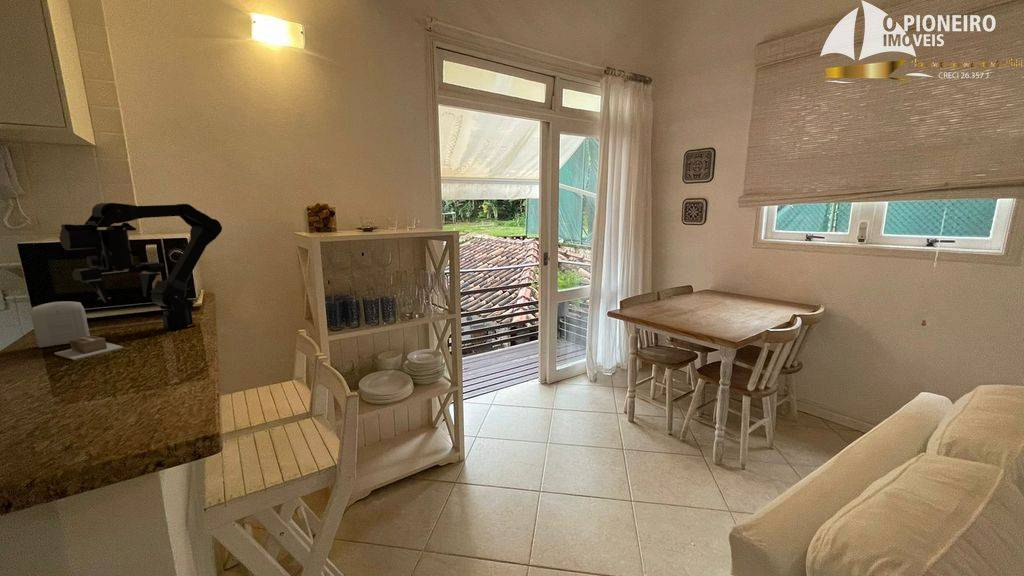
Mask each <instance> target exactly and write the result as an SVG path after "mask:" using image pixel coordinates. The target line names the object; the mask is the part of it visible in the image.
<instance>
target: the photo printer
mask: <svg viewBox="0 0 1024 576" xmlns="http://www.w3.org/2000/svg"><path fill="white" fill-rule="evenodd" d="M86 314H87V313H86V310H85V308H84V306H83V305H82V302H79V301H67V300H66V301H64V300H63V301H52V302H48V303H42V304H39V305H36V306H33V307H31V312H30V317H31V322H32V326H33V329H34V335H35V339H36V343H37V347H38V348H39V349H40V348H48V347H54V346H55V345H56V346H62V344H63V345H68V344H70V340H72V339H77V338H81V337H86V336H91V335H90V330H89V325H88V320H87V315H86Z"/></svg>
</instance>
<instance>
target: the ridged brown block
mask: <svg viewBox="0 0 1024 576" xmlns="http://www.w3.org/2000/svg"><path fill="white" fill-rule="evenodd" d="M106 342H107V341H106V338H105V337H100V336H96V335H90V336H86V337H81V338H77V339H72V340H70V343H69V344H70V349H72V351H76V352H79V353H83V354H87V353H92V352H96V351H100V350H104V349H107V345H106Z"/></svg>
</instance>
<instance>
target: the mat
mask: <svg viewBox="0 0 1024 576" xmlns="http://www.w3.org/2000/svg"><path fill="white" fill-rule="evenodd" d="M106 345H107V349H104V350H100V351H96V352H92V353H87V354H83V353H79V352H76V351H72V348H70V349H69V348H68V349H65V350H61V351H56V352H54V353H53V354H54V355H56V356H59V357H63V358H65V359H69V360H72V361H76V360H81V359H84V358H88V357H89V358H90V357H92V356H97V355H102V354H106V353H109V352H113V351H117V350H122V349H124V346H122V345H118V344H115V343H110V342H107V341H106Z"/></svg>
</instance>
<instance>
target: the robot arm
mask: <svg viewBox="0 0 1024 576" xmlns="http://www.w3.org/2000/svg"><path fill="white" fill-rule="evenodd" d="M167 217H179V218H180V219H182V220H183V221H184V223H185V224H186V225H188V226H190V231H189V236H190V237H189V238H190V239H189V242H188V243H187V245H186V246H185V248H184V250H183V252H182V253H181V255H180V257H179V259H178V260H177V262H176V264H175V266H174V268H173V269H172V271H171V272H170V274H169V276H168V277H167V278H166V279H165V280H156V278H157V276H160V275H161V273H163V272H165V271H166V270H165V266H164V264H163V263H161V262H157V261H156V262H155V261H150V262H148V261H147V262H140V263H138V265H137V264H136V263H134V259H133V256H132V255H133V254H134V250H133V249H131V244H130V238H129V233H128V232H130V231H132V232H133V231H135V232H136V231H137V228H136V227H134V226H133V225H131V224H130V223H128V222H131V221H135V220H140V219H146V218H148V219H149V218H151V219H152V218H167ZM115 224H116V225H115ZM119 224H120V225H119ZM60 228H61V229H60V233H59V235H60V236H59V237H58V238H59V242H60V244H61V246H62V248H63V249H64V250H66V251H70V250H71V251H72V250H73V251H75V250H90V249H97V248H98V246H101V247H102V250H101V251H100V252H101V253H100V254H101V256H99V257H98V256H97V255H88V256H86V263H87V266H88V268H87V267H86V268H76V269H74V270H73V271H72V279H73V280H75V281H80V282H81V283H86V284H88V285H90V286H91V288H93V290H94V291H95V292H96V293H97V295H98V296H99V297H100V298H101V300H102V301H103V303H105V304H108V303H109V298H108V297H109V296H108V293H107V287H106V283H105V280H104V279H101V278H102V277H104V276H105V277H106V276H113V275H114V276H115V275H123V274H131V273H138V275H139V277H140V280H141V286H142V287H141V288H142V295H143V296H144V297H148V296H149V293H151V295H150V298H151V301H152V302H153V303H154V304H155V305H157V306H159V308H160V309H161V310H162V312H163V315H162V316H161V317H162V321H163V322H162V323H163V327H162V329H165V330H168V329H169V330H168V331H173V330H175V331H178V329H179V330H181V329H180V328H184V327H187V326H188V325H190V324H194V321H193V315H192V310H193V306H194V305H195V304H194V302H193V301H192V300H190V299H188V298H186V297H185V296H186V293H187V282H188V280H189V278H190V277H191V274H192V272H193V271H194V269H195V267H196V266H197V264H198V262H199V260H200V258H201V257H202V254H203V253H204V251H205V250H206V248H207V246H208V245H209V244H211V242H213V241H214V240H216V239H217V238H218V237H219V235H220V234H221V233H222V230H223V226H222V224H221V222H220V221H219V220H217V219H216V218H211V216H209V215H207V214H206V213H205V212H204V213H203V212H201V211H200V210H198V209H196V208H195V207H193V206H192V205H191V204H189V203H178V204H161V205H160V204H159V205H158V204H157V205H156V204H155V205H134V204H126V203H117V202H99V203H97V204H95V205H94V206H93V207H92V209H91V215H90V216H89V218H88V219H87V220H86V221H85V223H84V224H69V223H68V224H65V223H64V224H61V225H60ZM98 228H105V229H98ZM155 280H156V282H155V285H154V287H153V288H152V286H153V283H154V281H155ZM151 288H152V289H151ZM184 329H185V328H184Z"/></svg>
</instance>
